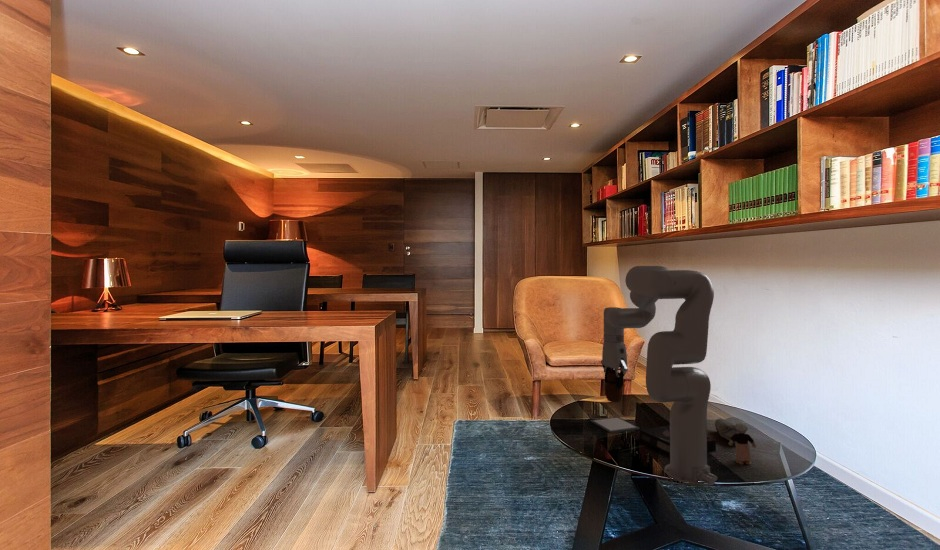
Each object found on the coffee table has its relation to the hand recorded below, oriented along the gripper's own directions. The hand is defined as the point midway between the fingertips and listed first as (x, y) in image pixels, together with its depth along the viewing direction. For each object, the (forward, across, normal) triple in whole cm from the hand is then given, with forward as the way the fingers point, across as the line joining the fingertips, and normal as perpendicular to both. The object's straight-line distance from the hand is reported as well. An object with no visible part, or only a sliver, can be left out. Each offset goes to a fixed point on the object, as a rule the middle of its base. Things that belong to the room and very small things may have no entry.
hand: (613, 384), depth 162 cm
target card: (+16, 0, 0) cm, 16 cm away
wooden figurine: (+7, 0, 0) cm, 7 cm away
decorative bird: (+16, -25, -29) cm, 42 cm away
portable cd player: (+17, -23, -8) cm, 30 cm away
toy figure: (+16, -40, -17) cm, 47 cm away
